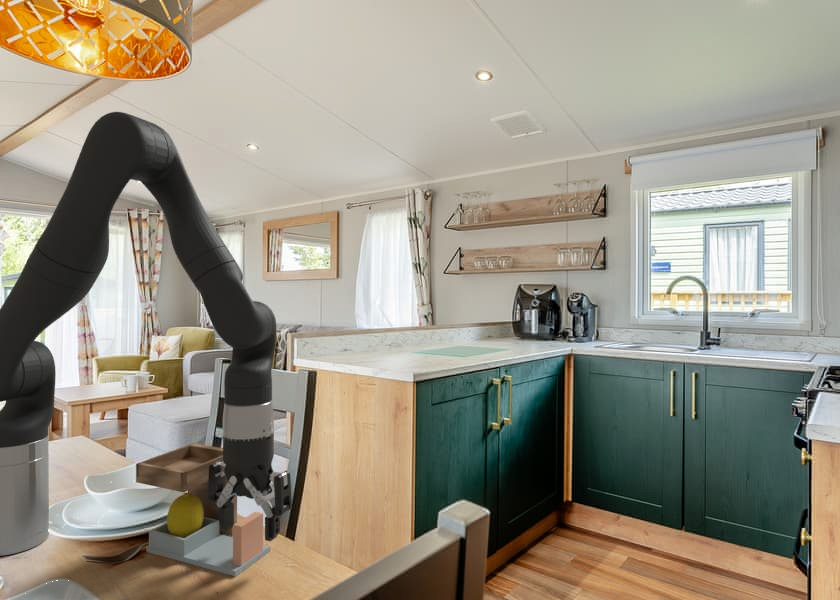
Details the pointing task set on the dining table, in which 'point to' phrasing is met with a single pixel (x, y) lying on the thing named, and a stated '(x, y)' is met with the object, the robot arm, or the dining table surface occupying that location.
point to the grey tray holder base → (214, 545)
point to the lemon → (185, 515)
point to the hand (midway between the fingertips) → (249, 533)
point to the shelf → (186, 475)
